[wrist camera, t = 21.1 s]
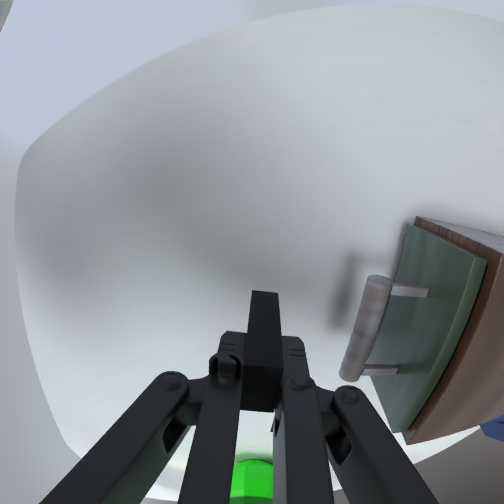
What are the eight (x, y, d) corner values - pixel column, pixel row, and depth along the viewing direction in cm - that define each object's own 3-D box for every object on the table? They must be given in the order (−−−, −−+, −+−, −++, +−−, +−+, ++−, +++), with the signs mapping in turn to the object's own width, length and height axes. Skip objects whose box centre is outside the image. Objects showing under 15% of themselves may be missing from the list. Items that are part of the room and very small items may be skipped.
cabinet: (372, 364, 22) (406, 445, 13) (416, 215, 18) (502, 253, 9) (480, 355, 22) (522, 406, 12) (521, 242, 18) (584, 274, 8)
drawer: (319, 365, 21) (335, 439, 14) (355, 214, 18) (408, 246, 10) (475, 357, 21) (509, 401, 13) (515, 247, 17) (568, 275, 10)
